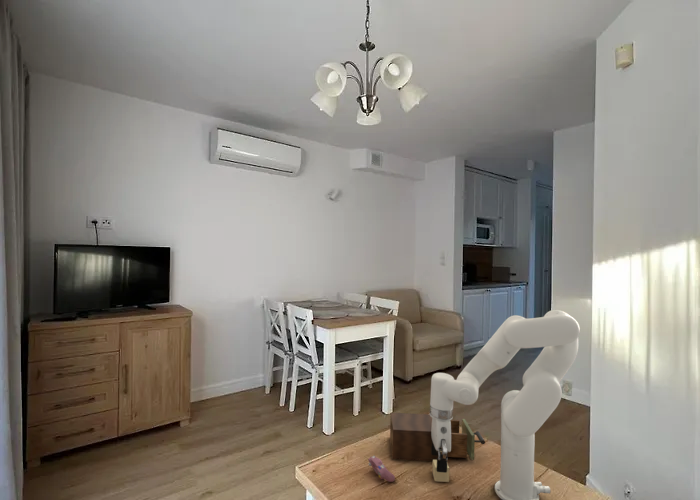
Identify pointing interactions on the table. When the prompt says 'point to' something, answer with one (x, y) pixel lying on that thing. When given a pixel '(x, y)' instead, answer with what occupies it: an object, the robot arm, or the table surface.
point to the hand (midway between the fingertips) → (438, 463)
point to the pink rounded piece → (380, 469)
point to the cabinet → (411, 436)
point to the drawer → (463, 440)
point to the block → (440, 473)
